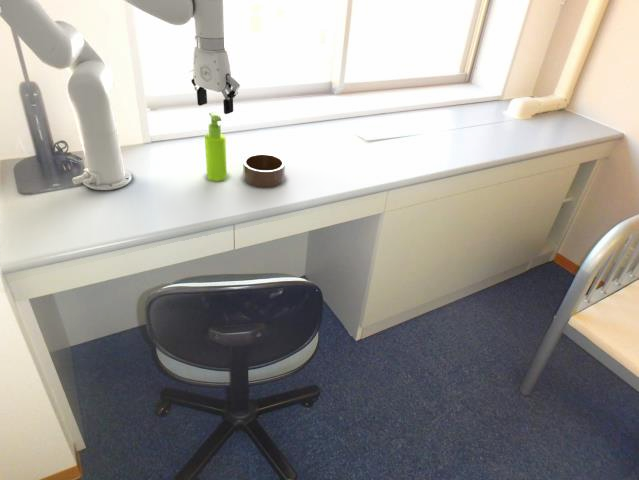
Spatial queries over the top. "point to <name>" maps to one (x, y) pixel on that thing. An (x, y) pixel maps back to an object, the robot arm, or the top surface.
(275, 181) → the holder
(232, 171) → the top surface
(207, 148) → the soap dispenser
